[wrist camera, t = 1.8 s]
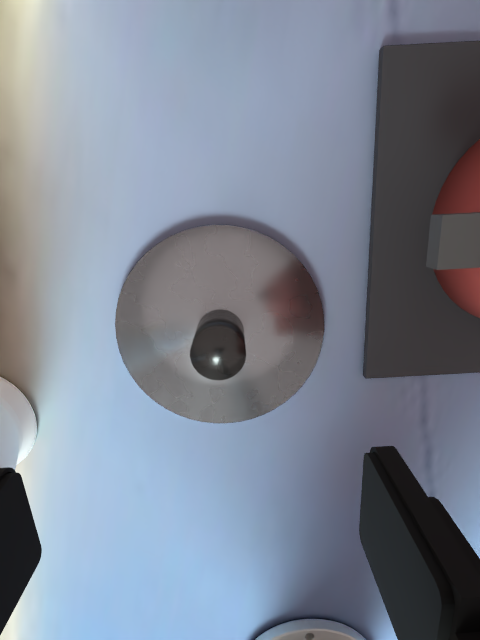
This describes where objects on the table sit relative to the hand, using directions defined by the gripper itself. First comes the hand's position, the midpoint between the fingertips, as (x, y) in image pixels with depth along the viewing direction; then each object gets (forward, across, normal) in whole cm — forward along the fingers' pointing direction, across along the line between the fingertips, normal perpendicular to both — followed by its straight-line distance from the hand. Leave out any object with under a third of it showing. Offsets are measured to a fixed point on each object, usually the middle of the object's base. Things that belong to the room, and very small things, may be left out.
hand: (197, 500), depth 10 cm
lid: (+16, 0, +1) cm, 16 cm away
